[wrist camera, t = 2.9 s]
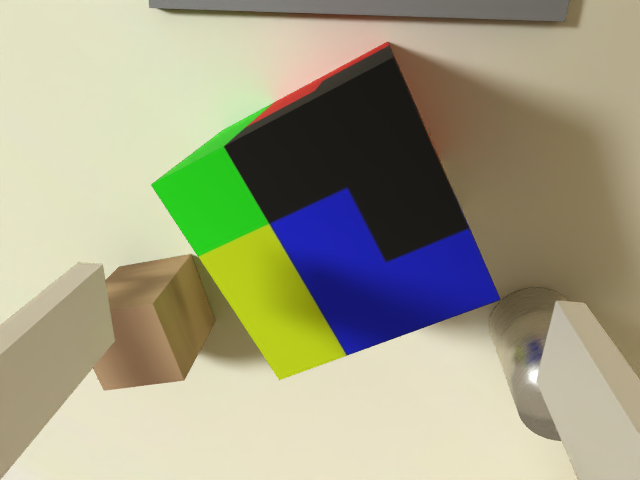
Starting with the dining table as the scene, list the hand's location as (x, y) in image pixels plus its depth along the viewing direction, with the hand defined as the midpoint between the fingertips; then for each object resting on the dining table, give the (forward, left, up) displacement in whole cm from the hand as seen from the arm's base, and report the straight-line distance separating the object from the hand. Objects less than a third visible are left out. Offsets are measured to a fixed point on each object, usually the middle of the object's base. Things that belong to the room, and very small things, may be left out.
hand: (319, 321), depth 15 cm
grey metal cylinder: (+12, -9, -15) cm, 21 cm away
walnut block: (-11, -9, -15) cm, 21 cm away
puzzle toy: (0, 0, -15) cm, 15 cm away
